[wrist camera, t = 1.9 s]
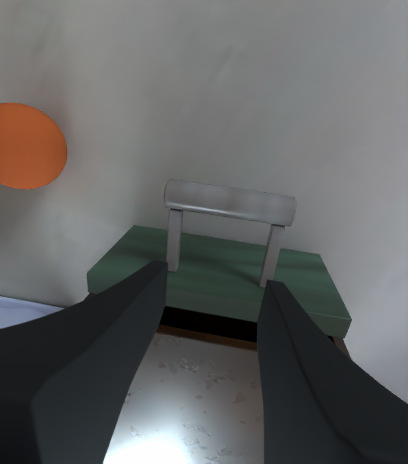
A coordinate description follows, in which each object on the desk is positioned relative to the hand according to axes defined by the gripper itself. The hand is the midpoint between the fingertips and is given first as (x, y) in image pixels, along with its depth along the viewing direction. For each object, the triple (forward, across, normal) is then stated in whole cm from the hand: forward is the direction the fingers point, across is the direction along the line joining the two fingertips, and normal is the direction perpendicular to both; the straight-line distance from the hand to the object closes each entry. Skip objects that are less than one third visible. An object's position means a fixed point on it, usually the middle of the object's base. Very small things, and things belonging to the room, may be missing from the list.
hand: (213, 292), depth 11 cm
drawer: (+9, 0, +5) cm, 10 cm away
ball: (+7, +13, -3) cm, 15 cm away
